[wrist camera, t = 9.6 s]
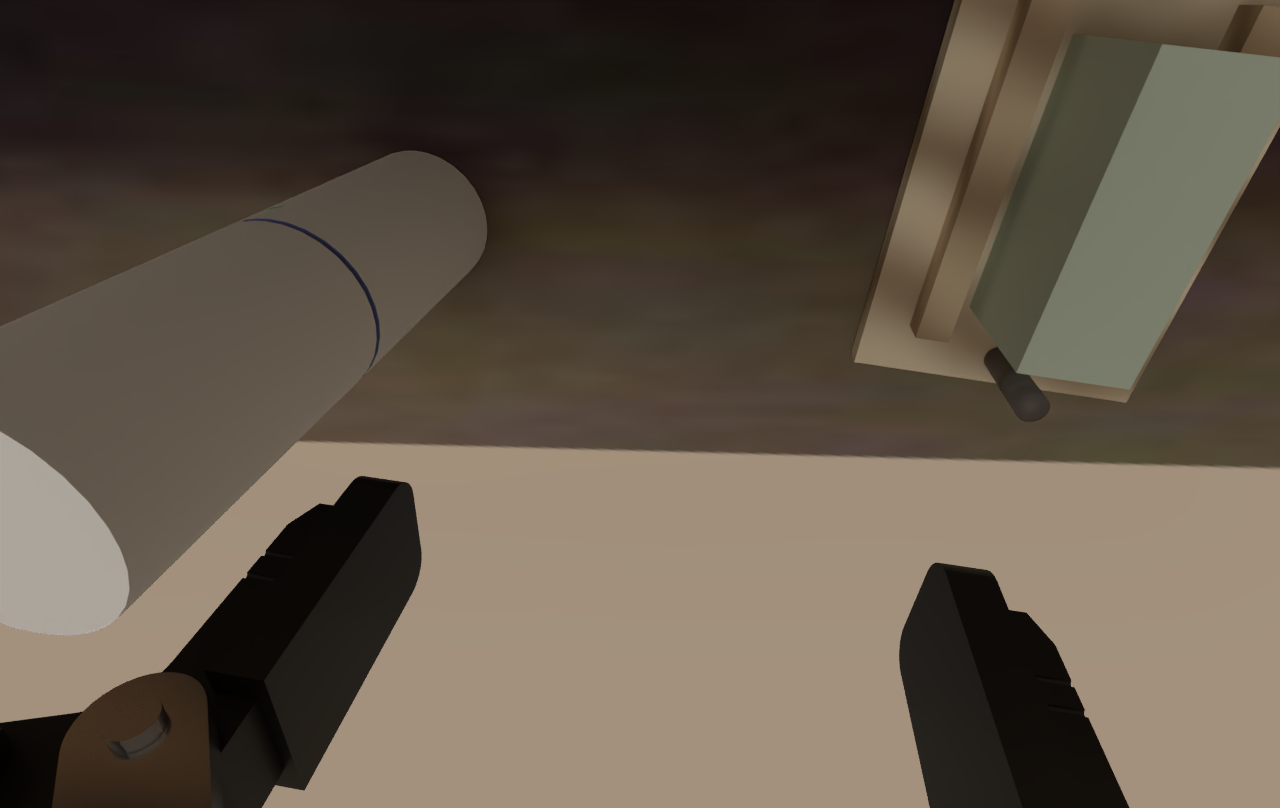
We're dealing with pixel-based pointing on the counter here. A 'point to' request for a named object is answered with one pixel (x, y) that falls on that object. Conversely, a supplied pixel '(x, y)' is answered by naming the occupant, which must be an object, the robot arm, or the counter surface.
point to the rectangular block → (1121, 202)
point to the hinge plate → (945, 161)
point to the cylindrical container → (205, 378)
